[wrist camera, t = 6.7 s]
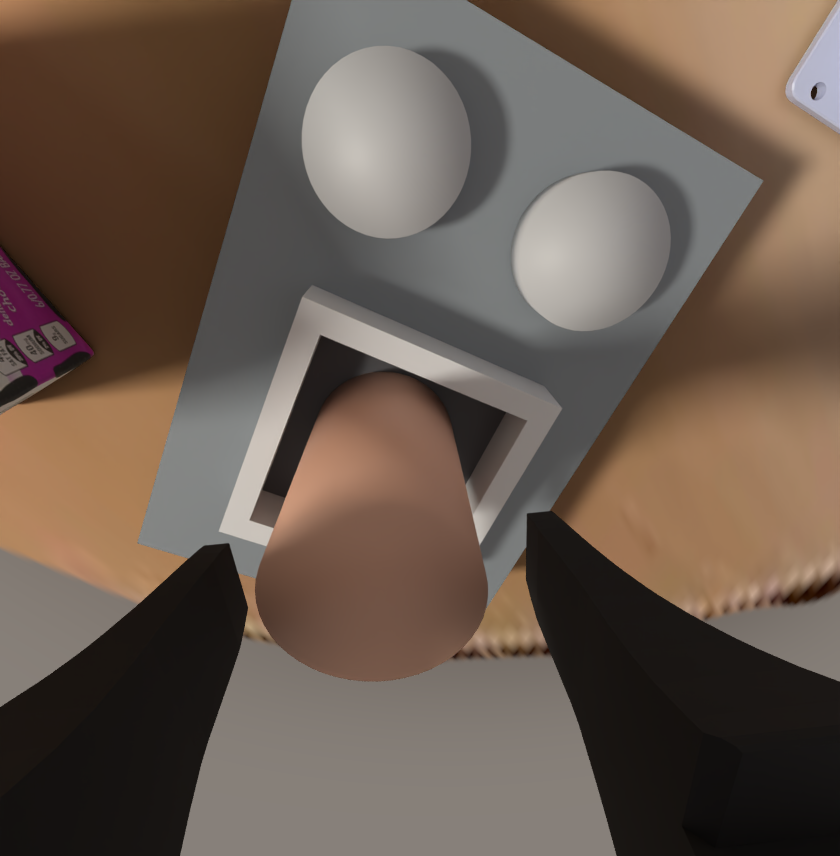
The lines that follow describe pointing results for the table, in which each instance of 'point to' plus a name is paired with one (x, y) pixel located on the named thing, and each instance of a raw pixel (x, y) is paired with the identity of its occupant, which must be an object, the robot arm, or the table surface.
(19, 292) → the candy bar box
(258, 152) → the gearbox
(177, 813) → the robot arm
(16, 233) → the table surface
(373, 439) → the peach tapered capsule
